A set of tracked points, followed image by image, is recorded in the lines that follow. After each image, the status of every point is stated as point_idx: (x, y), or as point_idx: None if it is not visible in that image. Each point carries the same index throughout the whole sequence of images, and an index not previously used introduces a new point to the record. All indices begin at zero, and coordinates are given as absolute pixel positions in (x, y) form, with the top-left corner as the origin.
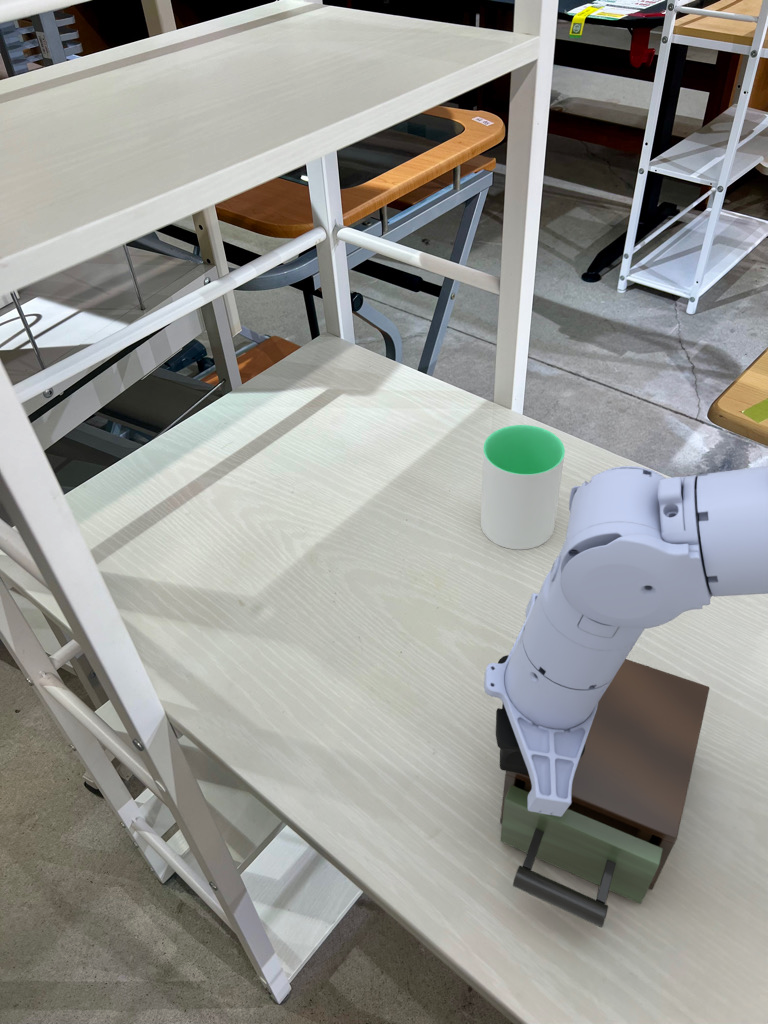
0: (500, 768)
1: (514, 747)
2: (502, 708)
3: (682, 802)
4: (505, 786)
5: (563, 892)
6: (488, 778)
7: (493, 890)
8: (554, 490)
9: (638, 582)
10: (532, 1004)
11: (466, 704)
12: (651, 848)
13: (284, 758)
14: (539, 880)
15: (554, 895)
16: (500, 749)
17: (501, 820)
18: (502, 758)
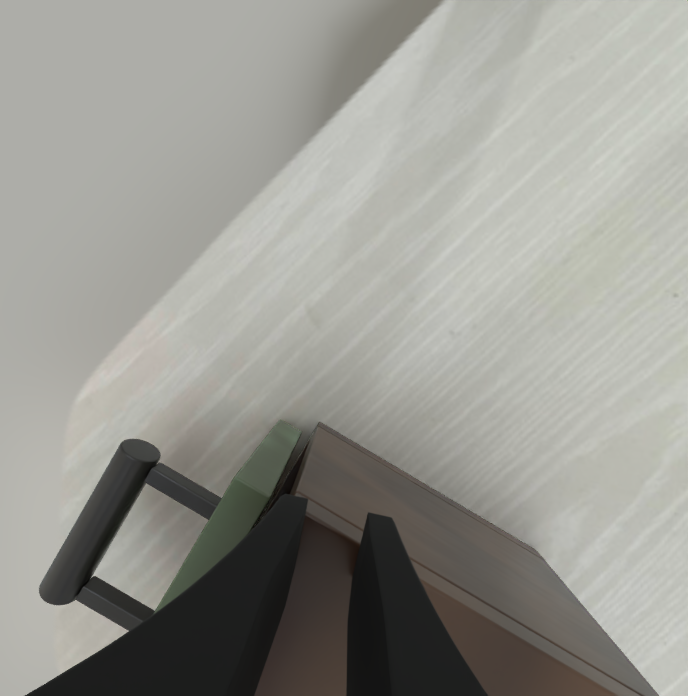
0: (284, 494)
1: None
2: (418, 612)
3: None
4: (302, 470)
5: (84, 535)
6: (395, 417)
7: (221, 393)
8: None
9: None
10: (77, 417)
11: (539, 403)
12: None
13: (474, 63)
14: (110, 495)
15: (83, 516)
16: (287, 536)
17: (317, 426)
18: (237, 545)
